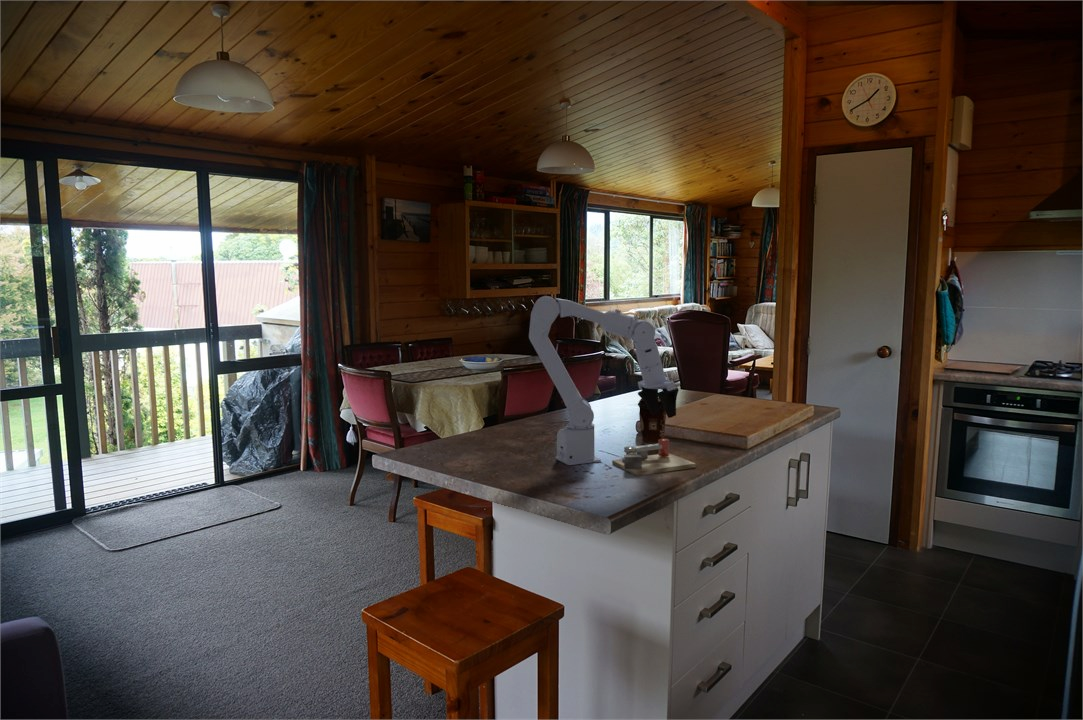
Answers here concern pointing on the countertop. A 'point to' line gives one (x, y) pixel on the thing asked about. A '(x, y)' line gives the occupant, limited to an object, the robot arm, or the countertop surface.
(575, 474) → the countertop surface
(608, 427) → the countertop surface
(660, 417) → the coffee cup
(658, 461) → the cracker base
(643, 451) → the lever
